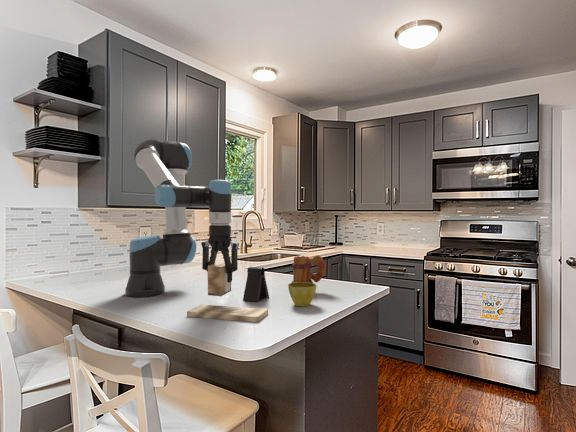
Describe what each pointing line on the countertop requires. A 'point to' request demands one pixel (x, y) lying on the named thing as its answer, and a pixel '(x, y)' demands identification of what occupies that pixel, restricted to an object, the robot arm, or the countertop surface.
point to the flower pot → (302, 292)
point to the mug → (307, 269)
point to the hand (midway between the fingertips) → (219, 290)
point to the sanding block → (217, 279)
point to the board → (228, 313)
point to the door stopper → (255, 285)
